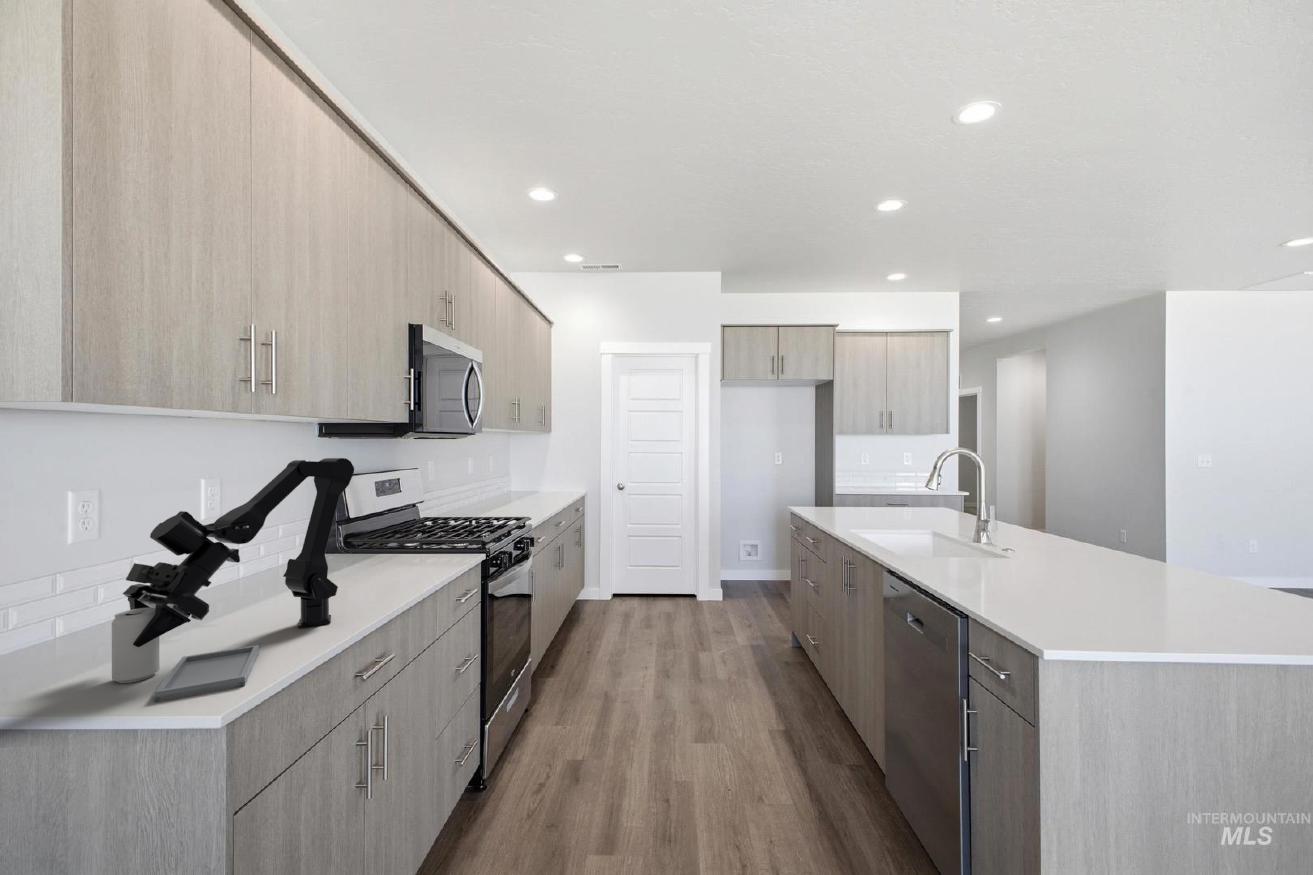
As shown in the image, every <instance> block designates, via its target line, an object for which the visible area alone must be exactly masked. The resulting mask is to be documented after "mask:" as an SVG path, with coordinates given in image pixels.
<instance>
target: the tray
mask: <svg viewBox="0 0 1313 875" xmlns="http://www.w3.org/2000/svg"><path fill="white" fill-rule="evenodd" d="M259 655H260V645H259V644H256V645H250V646H244V647H238V648H231V649H230V648H229V649H224V650H217V651H212V652H211V651H210V652H205V653H204V652H203V653H198V654H192V655H185V656H182V657H181V659H179V661H178V662H177V663H176V664H175V666H174V667H173V668H172V670H171V671H170V672H169V673H168V675H167V676H166V678H165V679H164V680H163V681H162V683H161V684H160V685H159V687H157V689H156V690H155V691H154V703H158V702H163V701H169V700H174V699H178V698H179V699H180V698H184V697H185V698H187V697H191V696H197V695H201V694H208V693H213V692H219V691H224V690H230V689H234V688H239V687H240V688H241V687H246V684H247V682H248V679H249V677H250V675H251V673H252V670H253V668H254V666H255V663H256V661H257V659H258V656H259Z"/></svg>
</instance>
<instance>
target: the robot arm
mask: <svg viewBox="0 0 1313 875" xmlns="http://www.w3.org/2000/svg"><path fill="white" fill-rule="evenodd" d="M354 473H355V466H354V465H353V463H352V461H351V460H349V459H348V458H344V457H326V458H322V459H321V460H319V461H315V460H314V461H310V460H308V459H296V460H292V461H290V462H288V463H287V465H286V467H285V468H284V469H283V470H281V472H279V473H278V474H277V475H276V476H275V477H274V478H272V480H270V481H269V482H268V483H267V484H266V485H265V486H264V487H263V488H261V490H259V491H258V492H257V493H255V495H254V496H253V497H251V498H250V499H249V500H248V501H247V502H245V503H243V504H242V505H239V506H237V507H235V508H233V509H231V510H229V511H228V512H226V513H225V514H223V515H221V516H220V517H218V518H217V519H216V520H215V521H214V522H212V523H208V524H202V523H201V522H199V521H198V520H197V519H195V518H194V516H193V515H192V514H190V513H189V512H188V511H186V510H185V511H184V510H183V511H182V510H181V511H179V512H178V513H177V514H175V515H173V516H170V517H169V518H167V519H165V520H164V521H163V522H160V523H158V524H157V525H156V526H155V527H154V529H152V531H151V533H150V535H149V537H150V539H152V540H154V542H156V543H157V544H159V545H161V546H162V547H163V548H165V549H166V550H168V551H170V552H171V553H173V554H174V555H175V556H183V555H186V558H184V559H183V561H181V562H180V563H179V564H172V563H166V562H160V561H159V562H157V563H156V564H154V565H149V564H142V563H137V562H134V563H133V565H132V567H131V568H130V570H129V573H128V574H127V576H126V578H125V581H128V582H136V584H130V585H129V587H128V588H126V590H125V591H123V592H122V595H123V596H125V597H126V598H127V601H128V603H129V610H133V609H139V608H155V615H154V617H153V618H152V619H151V621H150V622H149V623H148V624H147V626H146V627H145V628H144V629H143V631H142V632H141V633H140V635H139V636H138V637H137V639H136V640H135V642H134V643H133V645H134V646H136V647H140V646H142V645H144V644H146V643H148V642H150V641H151V640H153V639H155V638H157V637H159V638H160V636H162V635H164V634H166V633H168V632H170V631H173V630H174V629H176V628H178V627H180V626H182V625H185V624H186V623H187V624H188V623H190V622H191V621H192V620H193V619H194V620H197V621H203V619H204V618H205V617H206V616H207V615H208V613H210V604H208V603H207V602H206V601H204V600H203V599H201V598H200V597H198V596H196V594H197V593H198V592H199V591H200V590H201V589H202V588H203V587H205V588H208V587H209V586H210V585H211V584H212V582H211V581H210V579H211V578H212V577H213V575H214V574H215V573H216V572H217V571H218V570H219V569H220V568H221V567H222V566H223V564H225V563H226V562H228V563H240V562H241V557H240V549H239V548H229V547H228V546H227V545H226V544H231V545H232V544H233V545H244V544H249V542H251V541H253V539H255V537H256V536H257V535H258V533H259V532H260V531H261V530H262V528H263V527H264V526H265V521H266V520H267V519H266V518H267V517H268V516H269V514H271V512H272V511H273V510H274V509H275V508H276V507H277V506H278V505H280V504H281V502H283V500H285V499H286V498H287V497H288V496H289V495H290V494H291V493H292V492H294V491H295V489H297V488H298V486H300V485H301V484H302V483H303V482H304V481H305V480H306V479H307V478H310V477H313V482H314V486H315V489H316V495H315V499H314V503H313V507H312V511H311V514H310V518H309V522H308V526H307V530H306V533H305V537H304V540H303V544H302V548H301V551H300V553H299V555H298V556H297V557H296V558H289V559H288V561H287V565H286V566H287V567H286V571H285V572H284V574H283V576H282V577H283V578H285V580H284V582H285V586H286V587H287V588H288V590H290V592H291V594H292V596H293V597H295V598H300V619H299V621H298V622H297V623H298V624H297V628H298V629H301V628H307V627H315V626H321V625H322V626H323V625H329V624H331V623H332V615H331V614H330V603H329V602H330V598H331V597H335V596H336V595H337V592H338V589H339V587H338V585H337V584H336V583H334V582H333V581H332V580H330V579H329V578H328V576H329V575H328V572H329V566H328V561H327V558H326V552H327V548H328V544H329V540H330V536H331V531H332V528H333V524H334V519H335V516H336V513H337V512H336V511H337V508H338V504H339V501H340V497H341V495H342V493H343V492H344V491H345V490H346V489H347V488H348V487H349V485H350V483H351V480H352V478H353V475H354ZM209 538H214V539H215V540H216V541H217V542H214V541H213V540H211V539H209ZM225 543H226V544H225ZM187 555H188V556H187ZM148 584H149V585H148ZM189 617H191V618H192V619H190V618H189Z"/></svg>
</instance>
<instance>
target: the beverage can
mask: <svg viewBox="0 0 1313 875" xmlns="http://www.w3.org/2000/svg"><path fill="white" fill-rule="evenodd" d="M154 615H155V608H139V609H133V610H130V609H129V610H124V611H121V612H117V613H116V614H114V619H113V620H112V622H111V679H112V680H113V681H114V682H115V681H116V682H117V683H118V684H129V683H130V684H131V683H135V682H140V681H143V680H146V679H149V678H152V676H154V675H155V674H156V673H157V672H158V671H160V667H161V666H160V662H161V661H160V660H161V659H160V655H161V654H160V636H159V637H157V638H155V639H153V640H151V641H150V642H148V643H146V644H144V645H142V646H140V647H136V646H134V645H133V643H134V642H135V640H136V639H137V637H138V636H139V635H140V633H141V632H142V631H143V629H144V628H145V627H146V626H147V624H148V623H149V622H150V621H151V619H152V618H153V617H154Z"/></svg>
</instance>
